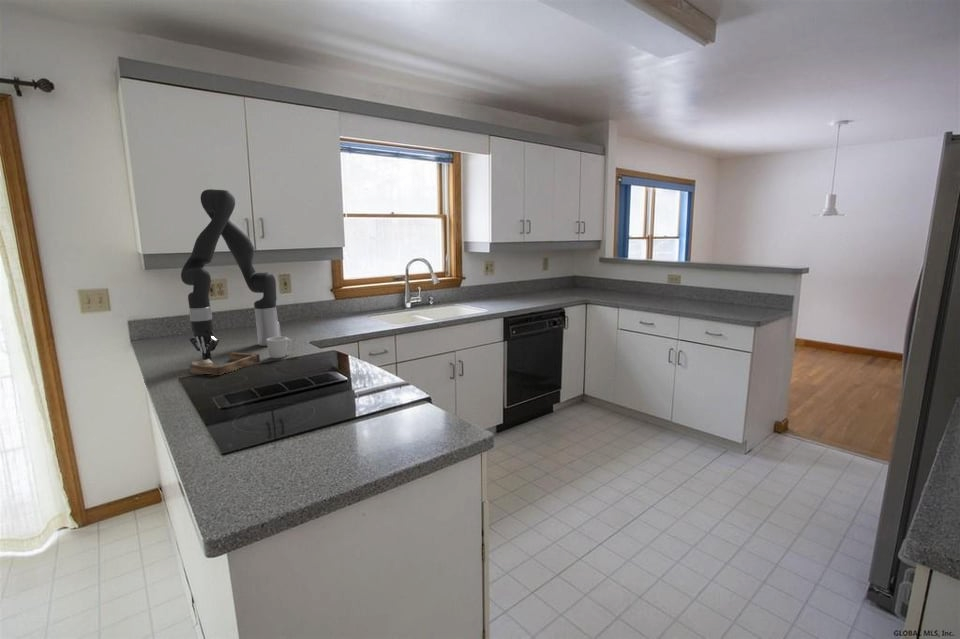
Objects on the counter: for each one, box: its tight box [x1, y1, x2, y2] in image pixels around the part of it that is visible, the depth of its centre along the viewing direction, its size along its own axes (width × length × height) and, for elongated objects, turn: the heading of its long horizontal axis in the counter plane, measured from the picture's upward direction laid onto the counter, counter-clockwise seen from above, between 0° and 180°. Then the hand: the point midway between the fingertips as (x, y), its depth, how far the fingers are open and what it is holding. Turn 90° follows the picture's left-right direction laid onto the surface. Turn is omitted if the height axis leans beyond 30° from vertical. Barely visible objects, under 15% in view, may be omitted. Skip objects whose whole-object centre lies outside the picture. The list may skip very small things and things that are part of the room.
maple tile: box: [191, 359, 214, 366], centre depth 186 cm, size 6×6×3 cm
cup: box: [266, 335, 293, 359], centre depth 202 cm, size 11×8×8 cm
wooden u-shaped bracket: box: [189, 351, 261, 376], centre depth 188 cm, size 20×14×3 cm
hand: (207, 361), depth 191 cm, fingers closed
